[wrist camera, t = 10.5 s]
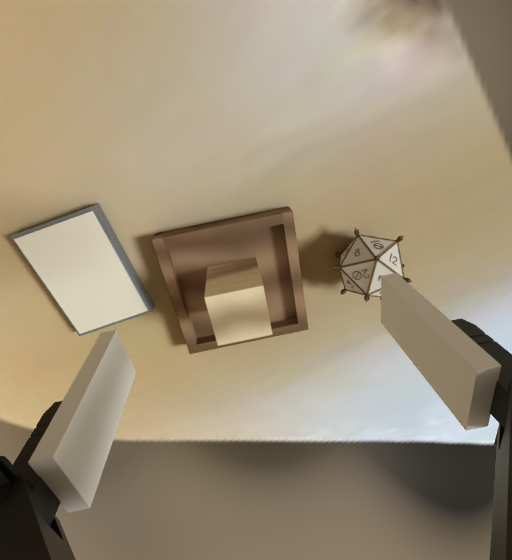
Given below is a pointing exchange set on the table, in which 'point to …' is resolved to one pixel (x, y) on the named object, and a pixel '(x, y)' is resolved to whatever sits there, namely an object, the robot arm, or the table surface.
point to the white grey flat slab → (85, 269)
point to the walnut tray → (224, 249)
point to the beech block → (237, 301)
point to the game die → (369, 264)
